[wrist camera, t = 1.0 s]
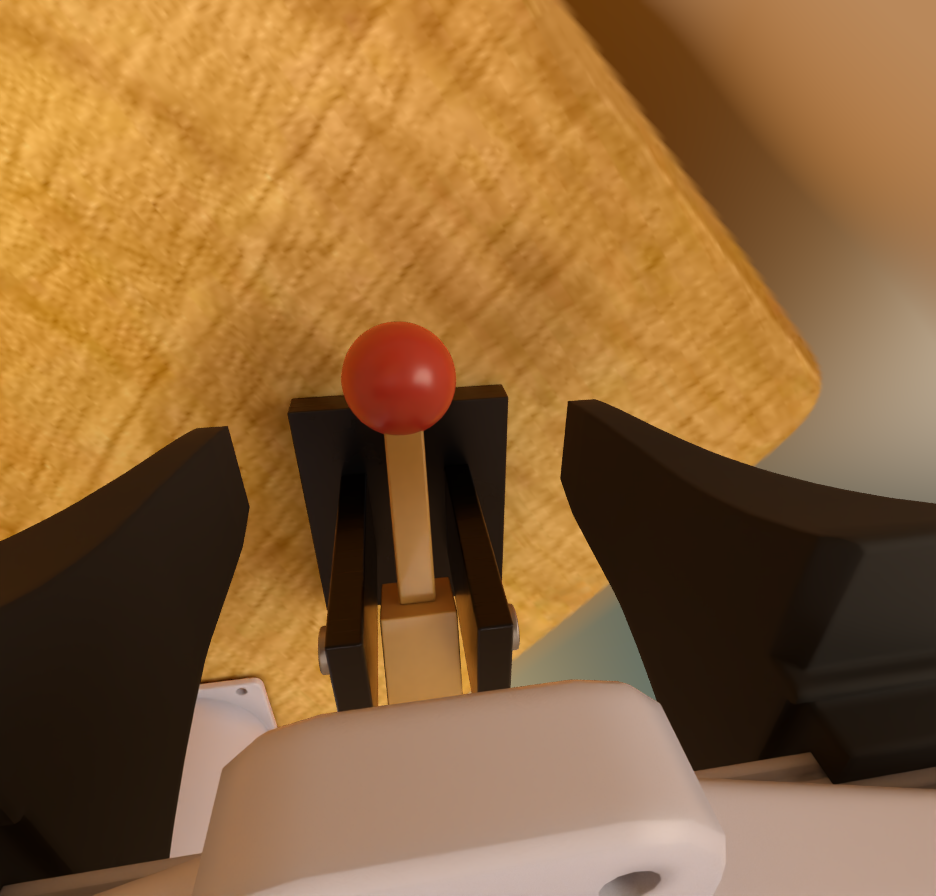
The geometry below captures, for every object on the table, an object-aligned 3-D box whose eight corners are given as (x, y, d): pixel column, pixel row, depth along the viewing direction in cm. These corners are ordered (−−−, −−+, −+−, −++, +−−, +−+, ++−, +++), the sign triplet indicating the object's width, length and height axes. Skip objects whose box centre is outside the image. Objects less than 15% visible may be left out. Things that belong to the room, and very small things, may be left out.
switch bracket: (291, 398, 20) (237, 574, 12) (502, 384, 21) (579, 538, 13) (328, 591, 25) (308, 804, 17) (496, 573, 26) (549, 765, 18)
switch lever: (341, 326, 16) (328, 321, 13) (446, 321, 17) (459, 315, 13) (374, 656, 18) (370, 720, 15) (467, 644, 19) (481, 704, 16)
